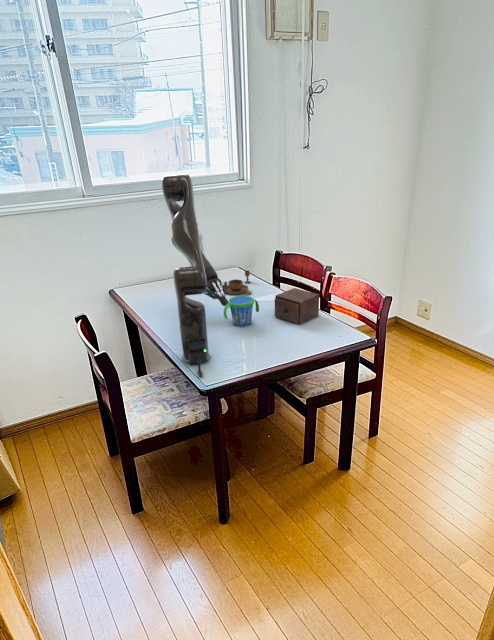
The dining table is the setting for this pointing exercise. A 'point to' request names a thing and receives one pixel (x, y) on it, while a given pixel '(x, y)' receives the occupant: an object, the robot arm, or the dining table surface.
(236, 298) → the snack cup
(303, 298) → the cabinet
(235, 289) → the place setting
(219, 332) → the dining table surface
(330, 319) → the dining table surface
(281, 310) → the drawer
